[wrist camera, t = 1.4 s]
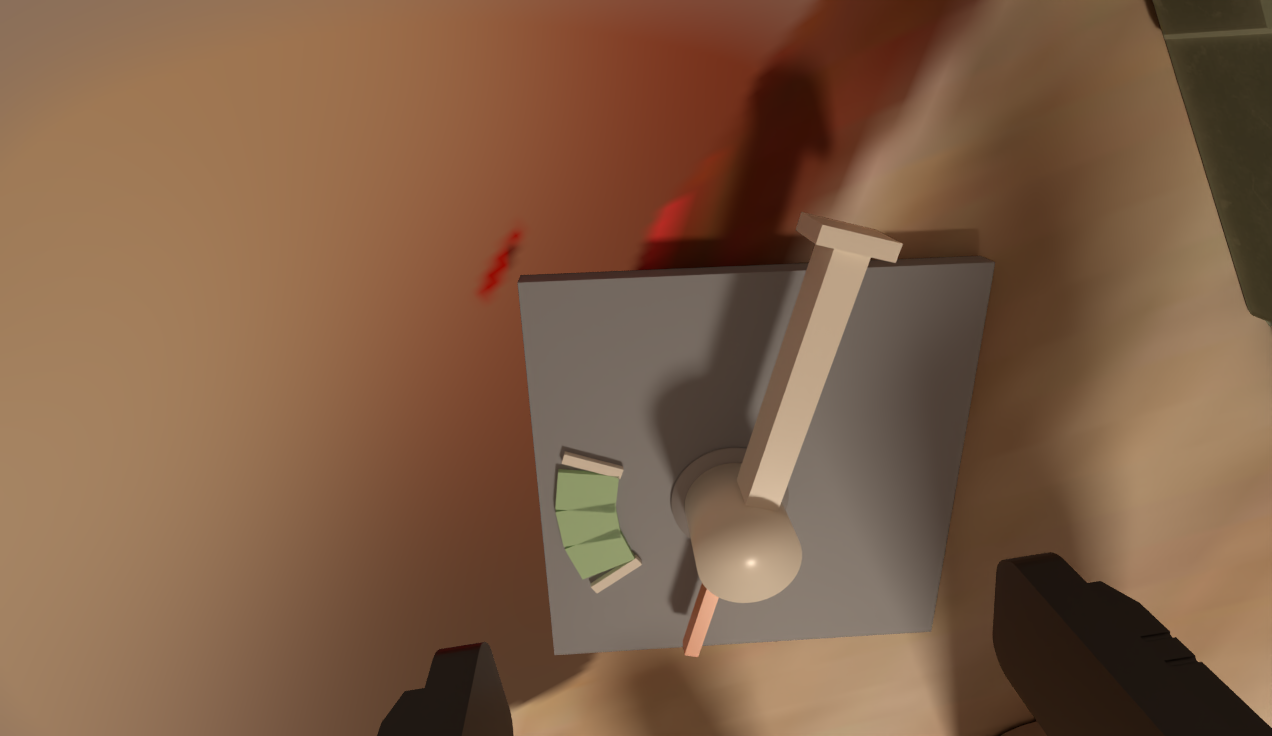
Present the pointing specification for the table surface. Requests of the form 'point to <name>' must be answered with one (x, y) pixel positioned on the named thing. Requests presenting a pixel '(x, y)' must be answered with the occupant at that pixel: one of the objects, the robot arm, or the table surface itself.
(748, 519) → the lever with orange pointer
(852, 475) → the gauge board
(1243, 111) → the handheld radio
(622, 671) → the table surface
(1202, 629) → the table surface
